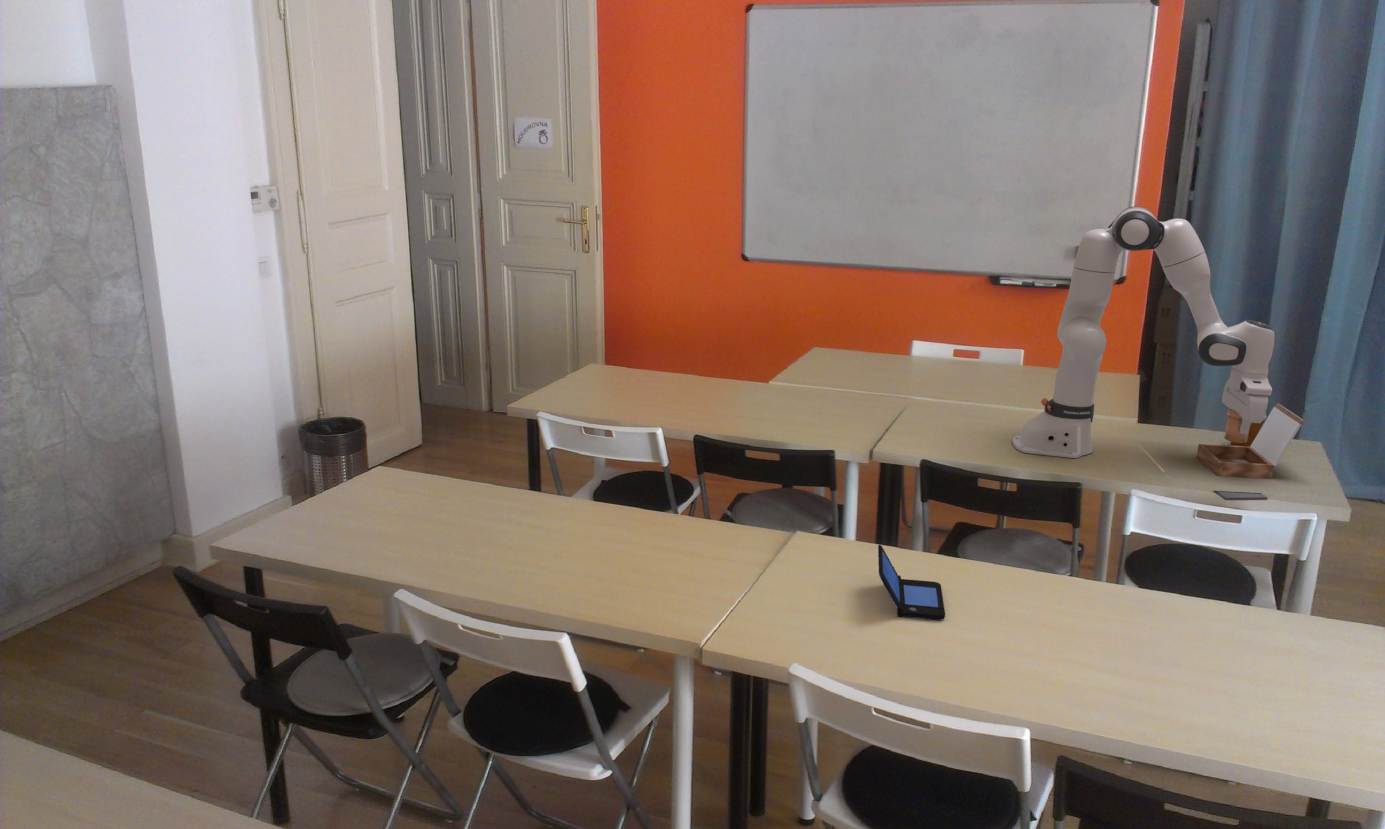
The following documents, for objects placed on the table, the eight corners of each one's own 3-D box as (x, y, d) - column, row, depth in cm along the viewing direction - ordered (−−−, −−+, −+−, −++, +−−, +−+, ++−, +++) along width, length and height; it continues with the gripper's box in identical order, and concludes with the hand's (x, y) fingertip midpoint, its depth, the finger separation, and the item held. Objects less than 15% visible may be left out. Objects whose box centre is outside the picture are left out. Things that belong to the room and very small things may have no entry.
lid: (1301, 419, 272) (1305, 421, 272) (1276, 402, 287) (1279, 404, 287) (1273, 465, 276) (1277, 466, 276) (1250, 446, 292) (1253, 447, 292)
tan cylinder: (1227, 442, 281) (1233, 414, 278) (1219, 435, 287) (1224, 407, 285) (1252, 444, 280) (1258, 416, 278) (1243, 437, 286) (1248, 409, 284)
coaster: (1225, 499, 264) (1226, 497, 264) (1203, 484, 275) (1203, 482, 274) (1267, 499, 265) (1267, 497, 264) (1242, 484, 275) (1243, 482, 275)
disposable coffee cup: (1252, 444, 308) (1259, 405, 305) (1265, 454, 299) (1273, 415, 295) (1219, 442, 309) (1225, 404, 305) (1231, 453, 300) (1238, 413, 296)
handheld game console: (945, 623, 200) (949, 579, 197) (875, 617, 202) (878, 574, 199) (940, 587, 215) (943, 546, 212) (875, 581, 217) (878, 541, 214)
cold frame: (1216, 478, 279) (1219, 462, 278) (1196, 458, 294) (1198, 444, 293) (1270, 481, 278) (1273, 465, 276) (1247, 461, 293) (1250, 446, 292)
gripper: (1221, 370, 289) (1211, 417, 293) (1250, 389, 269) (1239, 439, 273) (1244, 371, 288) (1235, 418, 292) (1275, 391, 269) (1264, 441, 273)
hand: (1237, 429), depth 283 cm, fingers closed on tan cylinder, 6 cm apart
